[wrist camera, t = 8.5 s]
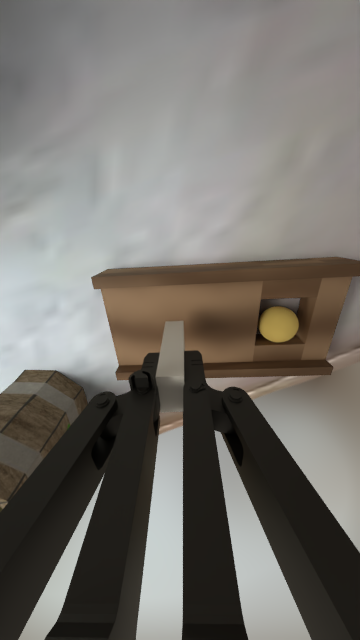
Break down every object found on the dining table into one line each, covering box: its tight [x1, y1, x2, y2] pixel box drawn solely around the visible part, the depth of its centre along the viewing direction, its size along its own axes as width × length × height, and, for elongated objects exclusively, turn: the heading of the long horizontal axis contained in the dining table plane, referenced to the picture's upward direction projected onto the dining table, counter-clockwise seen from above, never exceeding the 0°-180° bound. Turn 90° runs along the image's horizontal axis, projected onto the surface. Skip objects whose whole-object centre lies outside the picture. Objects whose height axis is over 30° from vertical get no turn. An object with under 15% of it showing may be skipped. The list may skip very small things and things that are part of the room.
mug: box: [0, 370, 88, 512], centre depth 22 cm, size 16×11×12 cm
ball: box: [258, 306, 299, 342], centre depth 19 cm, size 4×4×4 cm
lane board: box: [91, 257, 360, 380], centre depth 19 cm, size 11×22×4 cm, turn 93°
